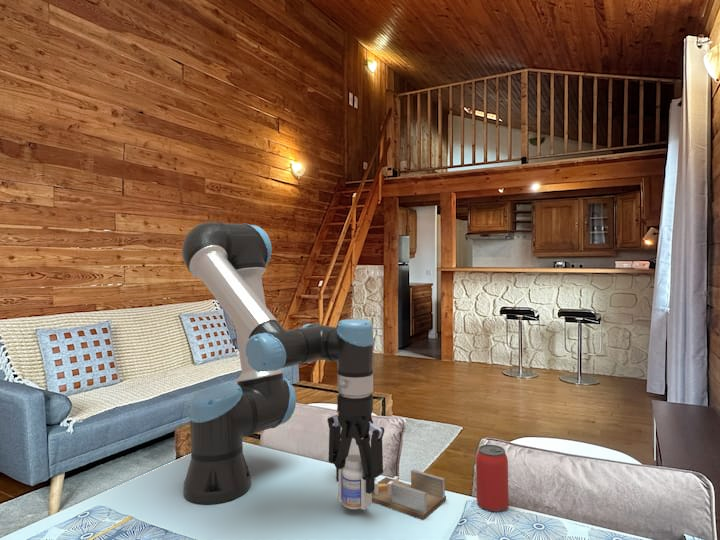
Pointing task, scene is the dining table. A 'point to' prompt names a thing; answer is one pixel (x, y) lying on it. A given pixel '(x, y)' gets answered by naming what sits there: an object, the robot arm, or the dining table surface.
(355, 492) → the pill bottle
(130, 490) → the dining table surface
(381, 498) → the board
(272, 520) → the dining table surface
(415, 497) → the end holder
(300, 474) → the dining table surface
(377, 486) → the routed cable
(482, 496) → the beer can
